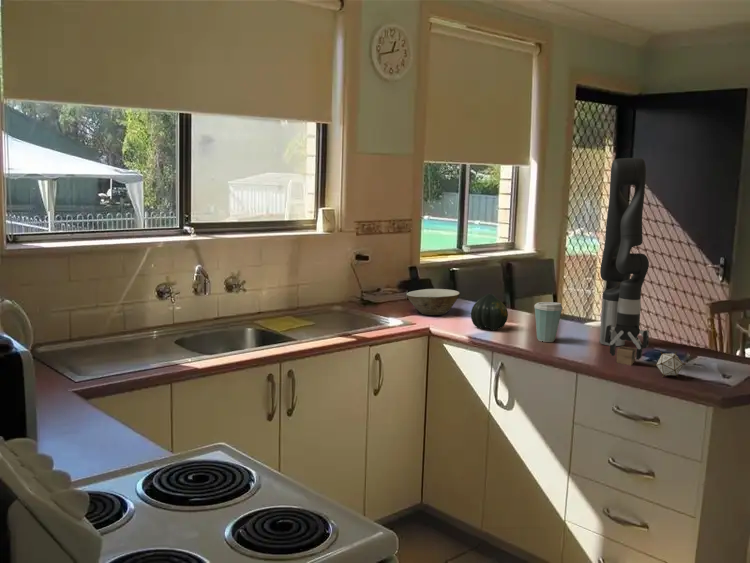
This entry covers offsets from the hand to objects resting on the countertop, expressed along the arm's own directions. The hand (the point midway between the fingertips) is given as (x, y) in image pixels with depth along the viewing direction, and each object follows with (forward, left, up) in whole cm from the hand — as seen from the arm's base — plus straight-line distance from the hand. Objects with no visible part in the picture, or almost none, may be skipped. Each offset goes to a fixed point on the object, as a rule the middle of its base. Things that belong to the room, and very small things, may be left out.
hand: (625, 357), depth 256 cm
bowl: (-30, -94, -2) cm, 98 cm away
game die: (+7, +16, -2) cm, 18 cm away
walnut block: (-1, 0, -2) cm, 2 cm away
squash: (-19, -61, -2) cm, 64 cm away
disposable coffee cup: (-14, -34, -2) cm, 36 cm away
